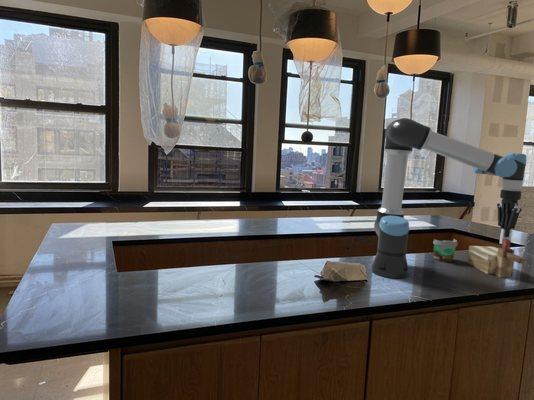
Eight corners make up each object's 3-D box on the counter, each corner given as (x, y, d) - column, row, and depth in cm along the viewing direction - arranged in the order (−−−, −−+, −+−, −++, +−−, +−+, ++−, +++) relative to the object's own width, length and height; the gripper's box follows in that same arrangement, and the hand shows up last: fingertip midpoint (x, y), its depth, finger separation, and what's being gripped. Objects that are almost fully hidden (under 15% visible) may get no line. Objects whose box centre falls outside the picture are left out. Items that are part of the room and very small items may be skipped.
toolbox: (492, 276, 166) (496, 249, 164) (467, 262, 186) (470, 238, 184) (517, 277, 167) (521, 250, 165) (490, 263, 186) (493, 239, 184)
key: (518, 263, 157) (521, 246, 156) (500, 254, 168) (502, 239, 167) (524, 263, 157) (527, 246, 156) (505, 255, 168) (507, 239, 167)
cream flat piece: (487, 262, 169) (488, 254, 169) (468, 252, 184) (469, 245, 184) (514, 263, 170) (515, 256, 169) (493, 253, 185) (494, 246, 184)
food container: (439, 263, 183) (442, 242, 181) (430, 259, 188) (433, 239, 187) (461, 262, 186) (464, 242, 184) (452, 258, 192) (454, 238, 190)
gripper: (530, 192, 159) (522, 248, 162) (509, 188, 171) (502, 240, 175) (512, 191, 158) (504, 247, 162) (493, 187, 171) (486, 239, 175)
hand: (503, 243), depth 168 cm, fingers closed
